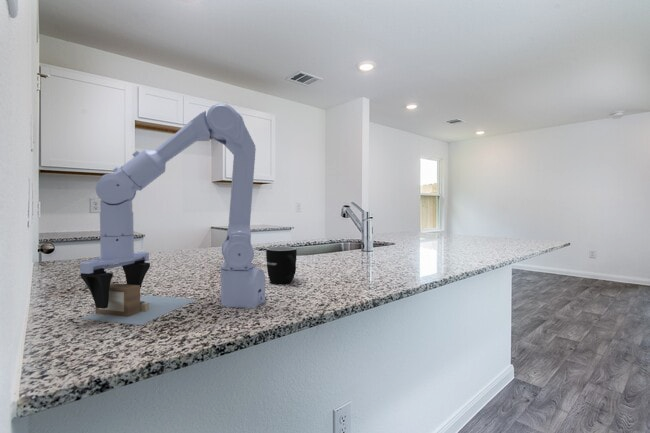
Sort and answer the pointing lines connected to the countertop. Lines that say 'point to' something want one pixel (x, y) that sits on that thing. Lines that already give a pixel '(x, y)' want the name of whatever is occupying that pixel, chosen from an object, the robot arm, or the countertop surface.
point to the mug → (281, 264)
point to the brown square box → (122, 300)
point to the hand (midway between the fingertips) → (118, 302)
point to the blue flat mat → (145, 310)
